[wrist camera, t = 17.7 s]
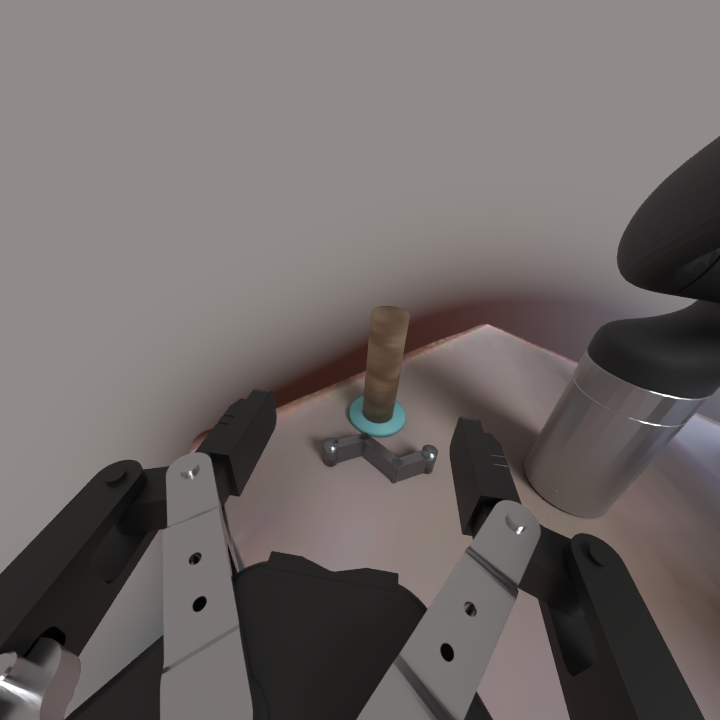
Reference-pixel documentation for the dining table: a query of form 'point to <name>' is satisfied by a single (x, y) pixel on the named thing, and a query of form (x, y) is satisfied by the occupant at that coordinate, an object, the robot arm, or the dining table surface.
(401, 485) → the dining table surface
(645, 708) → the robot arm
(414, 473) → the zigzag rail
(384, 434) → the teal pad
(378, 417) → the walnut peg
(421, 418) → the dining table surface
